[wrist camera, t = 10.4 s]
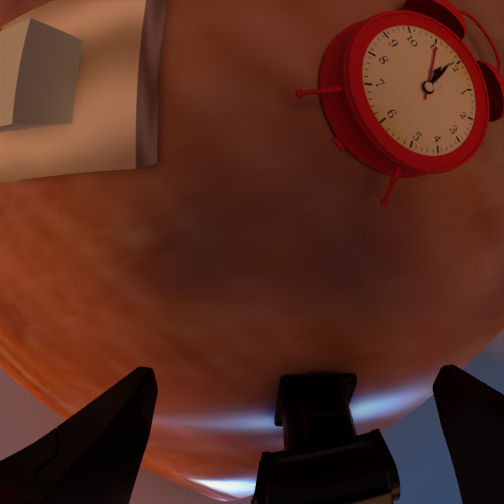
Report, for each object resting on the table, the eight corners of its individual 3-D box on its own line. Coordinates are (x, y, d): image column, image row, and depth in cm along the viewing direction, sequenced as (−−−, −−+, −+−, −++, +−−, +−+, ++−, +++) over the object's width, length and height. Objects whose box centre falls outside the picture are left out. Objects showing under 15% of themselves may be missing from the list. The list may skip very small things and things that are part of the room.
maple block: (159, 163, 18) (136, 168, 14) (25, 175, 18) (-9, 184, 14) (169, -4, 14) (151, -30, 10) (33, 35, 14) (2, 25, 10)
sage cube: (72, 123, 13) (12, 124, 9) (14, 131, 13) (-42, 137, 8) (83, 40, 12) (30, 17, 7) (24, 57, 11) (-29, 47, 7)
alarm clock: (267, 74, 12) (468, -50, 6) (281, 82, 18) (434, -21, 11) (397, 236, 15) (564, 104, 8) (377, 198, 21) (514, 95, 14)
